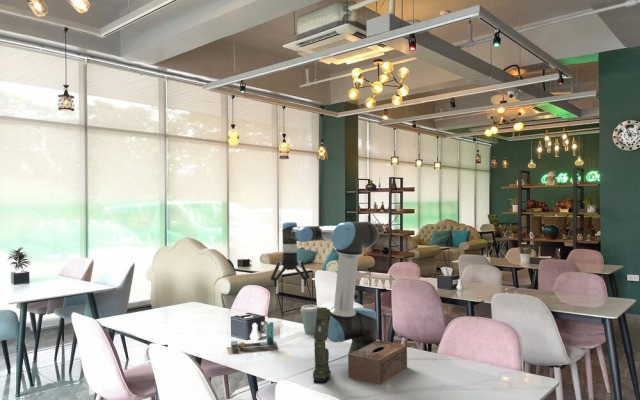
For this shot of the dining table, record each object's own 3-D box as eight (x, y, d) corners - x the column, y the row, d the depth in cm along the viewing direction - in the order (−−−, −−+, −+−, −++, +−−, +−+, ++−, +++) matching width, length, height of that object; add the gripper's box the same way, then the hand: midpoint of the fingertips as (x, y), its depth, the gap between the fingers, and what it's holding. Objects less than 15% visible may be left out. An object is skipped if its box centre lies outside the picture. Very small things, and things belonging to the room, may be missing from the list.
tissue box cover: (378, 362, 223) (377, 340, 223) (407, 367, 215) (406, 345, 215) (348, 378, 202) (348, 354, 202) (379, 385, 194) (379, 360, 194)
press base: (273, 345, 251) (273, 336, 251) (278, 352, 238) (278, 342, 238) (226, 349, 245) (226, 339, 245) (228, 357, 232) (228, 347, 232)
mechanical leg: (326, 385, 192) (329, 307, 199) (308, 383, 193) (311, 306, 201) (332, 381, 205) (334, 308, 212) (315, 380, 206) (318, 307, 214)
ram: (275, 343, 247) (275, 321, 247) (276, 345, 242) (276, 323, 243) (259, 344, 245) (259, 322, 245) (260, 347, 240) (260, 324, 241)
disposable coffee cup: (319, 335, 270) (319, 308, 271) (300, 335, 271) (299, 308, 271) (319, 330, 281) (319, 304, 281) (301, 330, 281) (300, 304, 282)
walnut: (246, 350, 239) (246, 342, 239) (238, 350, 238) (238, 343, 238) (245, 348, 242) (245, 340, 242) (238, 348, 241) (238, 341, 241)
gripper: (311, 250, 261) (311, 290, 261) (265, 252, 255) (265, 292, 255) (314, 251, 254) (315, 292, 254) (267, 253, 248) (267, 295, 247)
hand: (290, 292), depth 254 cm, fingers open, 13 cm apart
